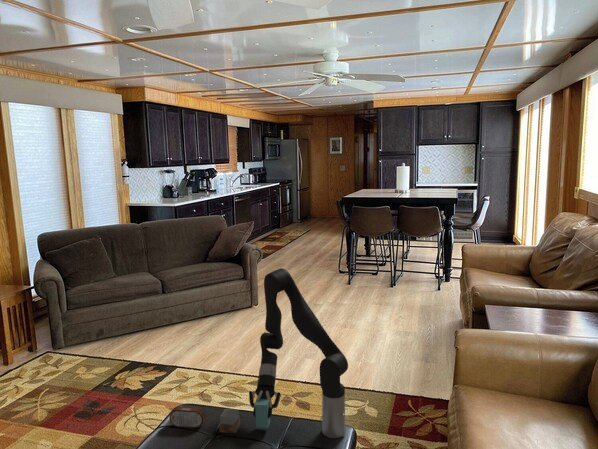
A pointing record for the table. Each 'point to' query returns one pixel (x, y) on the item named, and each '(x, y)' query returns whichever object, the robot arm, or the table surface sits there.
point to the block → (262, 413)
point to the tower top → (229, 416)
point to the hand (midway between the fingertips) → (262, 417)
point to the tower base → (230, 427)
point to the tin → (187, 417)
